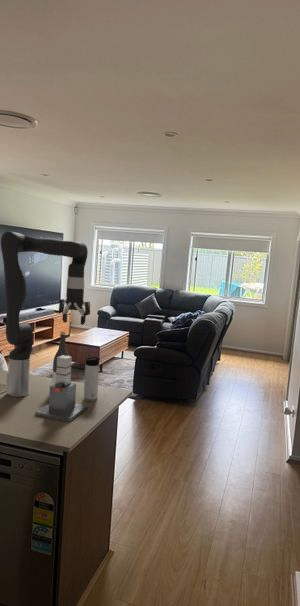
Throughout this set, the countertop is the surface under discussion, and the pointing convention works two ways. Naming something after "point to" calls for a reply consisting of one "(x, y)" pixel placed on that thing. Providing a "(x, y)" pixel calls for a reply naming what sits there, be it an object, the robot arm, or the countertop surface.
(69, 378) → the block
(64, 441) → the countertop surface
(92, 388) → the travel mug
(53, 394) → the stepped pedestal base
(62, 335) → the wine bottle
